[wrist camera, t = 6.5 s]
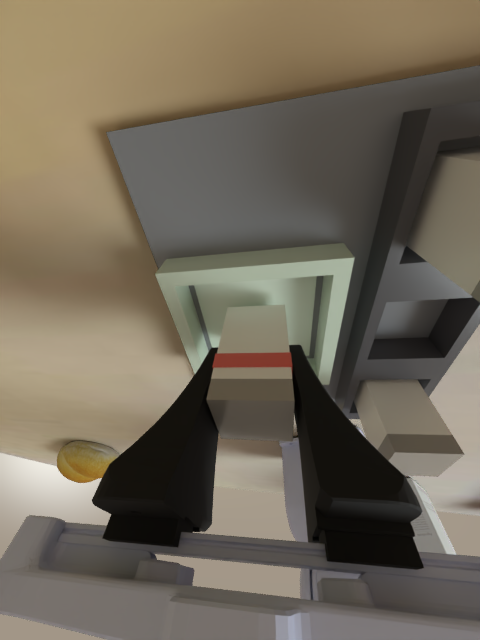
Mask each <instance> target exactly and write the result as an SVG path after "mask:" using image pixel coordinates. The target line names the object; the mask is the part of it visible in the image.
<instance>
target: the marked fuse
mask: <svg viewBox="0 0 480 640" xmlns="http://www.w3.org/2000/svg"><path fill="white" fill-rule="evenodd" d="M212 367H213V373H212V377H211V381H210V386H209V390H208V394H207V399H206V400H207V403H208V405H209V408H210V411H211V413H212V416H213V418H214V421H215V423H216V426H217V429H218V431H219V434H220V436H221V439H244V440H267V441H290V442H293V424H294V403H295V401H294V391H293V381H292V358H291V352H290V351H289V341H288V331H287V321H286V311H285V305H265V306H243V307H228V308H227V312H226V316H225V321H224V325H223V329H222V334H221V338H220V342H219V347H218V351H217V354H215V358H214V362H213V366H212Z"/></svg>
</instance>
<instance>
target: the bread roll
mask: <svg viewBox="0 0 480 640" xmlns="http://www.w3.org/2000/svg"><path fill="white" fill-rule="evenodd" d="M119 456H120V455H119V454H118V453H117V452H116V451H115V450H114V449H112V448H110V447H108V446H106V445H102V444H99V443H94V442H88V441H74V442H71V443H69V444H67V445H65V446H64V447H62V448H61V450H60V452H59V454H58V457H57V467H58V469H59V471H60V472H61V474H62V475H63V476H64V477H66V478H67V479H69V480H72V481H74V482H78V483H86V482H91V481H93V480H96V479H98V478H102V477H103V475H104V473H105V471H106V470H107V468H108V466H109V464H110V463H111V462H112V461H114V460H115V459H116V458H117V457H119Z"/></svg>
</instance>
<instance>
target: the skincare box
mask: <svg viewBox="0 0 480 640" xmlns="http://www.w3.org/2000/svg"><path fill="white" fill-rule="evenodd" d="M406 479H407V481H408V482H409V484H410V486H411V488H412V489H413V491H414V493H415V495H416V497H417V499H418V501H419V503H420V506H421V509H422V513H421V515H420V516H419V517H418V518H416V519H414V520H413V521H411V525H412V527H413V530H414V533H415V537H413V539H414V542H415V544H416V547H417V550H418V552H429V553H441V554H453V555H457V554H456V552H455V550H454V548H453V546H452V544H451V542H450V540H449V538H448V536H447V534H446V531H445V529H444V527H443V525H442V523H441V521H440V519H439V517H438V515H437V513H436V511H435V509H434V507H433V504H432V502H431V500H430V498H429V496H428V494H427V492H426V491H425V490H424V489H423V488H422V487H420V486H419V485H418V484H417V483H416V482H415V481H414V480H413V479H412V478H406Z"/></svg>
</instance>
